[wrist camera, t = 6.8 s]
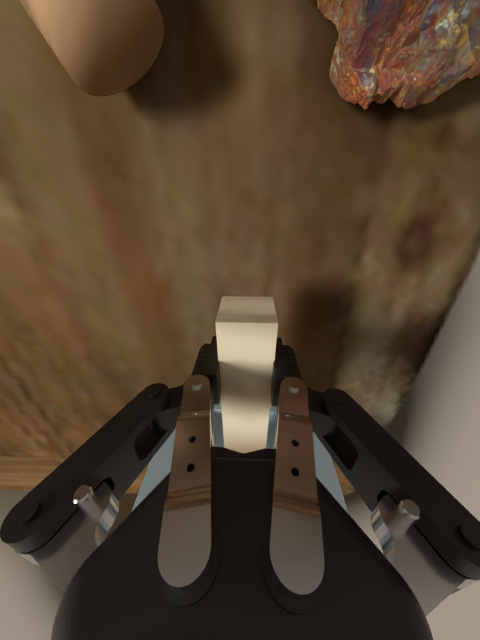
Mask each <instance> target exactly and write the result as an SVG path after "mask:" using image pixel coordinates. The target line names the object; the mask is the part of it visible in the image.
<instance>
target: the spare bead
mask: <svg viewBox="0 0 480 640" xmlns="http://www.w3.org/2000/svg"><path fill="white" fill-rule="evenodd" d="M19 1H20V2H21V4H22V5H23V7H24V8H25V10H26V11H27V13H28V14H29V16H30V17H31V19H32V20H33V22H34V23H35V25H36V26H37V28H38V29H39V31H40V32H41V34H42V35H43V37H44V38H45V40H46V41H47V42H48V44H49V45H50V47H51V48H52V50H53V51H54V53H55V54H56V56H57V57H58V59H59V60H60V62H61V63H62V65H63V66H64V68H65V69H66V71H67V72H68V74H69V75H70V77H71V78H72V80H73V81H74V83H75V84H76V85H77V86H78V87H79V88H80V89H81V90H82V91H84V92H85V93H88V94H90V95H94V96H109V95H113V94H116V93H119V92H121V91H124V90H125V89H127V88H129V87H131V86H132V85H134V84H135V83H136V82H137V81H139V80H140V79H141V78H142V77H143V76H144V75H145V74H146V73H147V71H148V70H149V69H150V68H151V66H152V65H153V63H154V62H155V60H156V58H157V56H158V54H159V52H160V49H161V46H162V43H163V38H164V21H163V17H162V14H161V12H160V10H159V8H158V6H157V3H156V1H155V0H19Z"/></svg>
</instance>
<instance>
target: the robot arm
mask: <svg viewBox="0 0 480 640" xmlns="http://www.w3.org/2000/svg"><path fill="white" fill-rule="evenodd" d="M220 395H221V379H220V365H219V361H218V351H217V336H213V338H212V342H211V344H204V345H203V346H202V347H201V348H200V350H199V354H198V357H197V360H196V363H195V366H194V369H193V373H192V376H191V377H189V378H188V379H187V380H186V381H185V383H184V385H182V386H179V387H175V388H171V389H168V387H167V386H166V385H165V384H162V383H156V384H152V385H150V386H148V387H146V388H145V389H144V390H143V391H142V392H141V393H139V394H138V395H137V396H136V397H135V398H134V399H133V400H132V401H131V402H129V403H128V404H127V405H126V406H125V407H124V408H123V409H122V410H121V411H119V412H118V413H117V414H116V415H115V416H114V417H113V418H112V419H111V420H109V421H108V422H107V423H106V424H105V425H104V426H103V427H102V428H101V429H99V430H98V431H97V432H96V433H95V434H94V435H93V436H92V437H91V438H89V439H88V440H87V441H86V442H85V443H84V444H83V445H82V446H81V447H79V448H78V449H77V450H76V451H75V452H74V453H73V454H72V455H71V456H69V457H68V458H67V459H66V460H65V461H64V462H63V463H62V464H61V465H59V466H58V467H57V468H56V469H55V470H54V471H53V472H52V473H51V474H49V475H48V476H47V477H46V478H45V479H44V480H43V481H42V482H41V483H39V484H38V485H37V486H36V487H35V488H34V489H33V490H32V491H31V492H29V493H28V494H27V495H26V496H25V497H24V498H23V499H22V500H21V501H20V502H18V504H16V505H15V506H14V507H13V508H12V510H11V511H10V512H9V513H8V515H7V516H6V518H5V520H4V522H3V524H2V526H1V530H0V537H1V539H2V541H3V542H5V543H6V544H8V545H9V546H11V547H12V548H14V550H15V552H16V553H18V554H19V555H21V556H22V557H24V558H26V559H27V560H29V561H30V562H32V563H34V564H37V565H40V566H41V568H42V569H43V570H44V571H45V572H46V573H47V575H48V576H49V577H50V578H51V579H52V580H53V582H54V583H55V584H56V585H57V586H58V587H59V589H60V590H61V591H62V592H63V593H64V595H63V597H62V600H61V602H60V605H59V608H58V611H57V613H56V616H55V620H54V624H53V629H52V636H51V640H433V637H432V633H431V630H430V627H429V624H428V622H427V619H426V616H427V614H429V613H430V612H431V611H432V610H433V609H434V608H435V607H437V606H438V605H439V604H440V603H441V602H442V601H443V600H444V599H445V598H446V597H447V596H449V595H450V594H452V593H454V592H456V591H458V590H461V589H463V588H465V587H467V586H469V585H471V584H472V583H475V582H477V581H479V580H480V522H479V521H478V520H477V519H476V518H475V517H474V516H473V515H472V514H471V513H470V512H469V511H468V510H467V509H466V508H465V507H464V506H463V505H461V504H460V503H459V502H458V501H457V500H456V499H455V498H454V497H453V496H452V495H451V494H450V493H449V492H448V491H447V490H446V489H445V488H444V487H443V486H442V485H441V484H440V483H439V482H438V481H437V480H436V479H435V478H434V477H433V476H431V474H430V473H429V472H428V471H427V470H426V469H424V467H422V466H421V465H420V464H419V463H418V462H417V461H416V460H415V459H414V458H413V457H412V456H411V455H410V454H409V453H408V452H407V451H406V450H405V449H404V448H403V447H402V446H401V445H400V444H399V443H398V442H397V441H396V440H395V439H394V438H393V437H391V435H389V434H388V433H387V432H386V431H385V430H384V429H383V428H382V427H381V426H380V425H379V424H378V423H377V422H376V421H375V420H374V419H373V418H372V417H371V416H370V415H369V414H368V413H367V412H366V411H365V410H364V409H363V408H362V407H361V406H360V405H359V404H358V403H357V402H356V401H355V400H354V399H352V398H351V397H350V396H349V395H348V394H347V393H346V392H344V391H342V390H340V389H335V388H332V389H328V390H326V391H325V392H324V393H321V392H318V391H314V390H312V389H310V388H308V387H307V385H306V384H305V383H304V382H303V381H302V379H301V376H300V372H299V369H298V365H297V362H296V357H295V354H294V350H293V349H292V348H291V347H290V346H289V345H282V340H281V338H277V340H276V351H275V361H274V362H273V371H272V381H271V400H272V406H277V419H276V431H275V443H274V449H269V448H265V449H261V450H256V451H252V452H248V453H240V452H237V451H233V450H230V449H227V448H224V447H215V446H214V428H213V411H214V405H219V402H220ZM175 428H176V432H175V440H174V448H173V456H172V464H171V471H170V472H169V473H168V475H167V476H166V477H165V478H164V479H163V480H162V481H161V482H160V483H159V484H158V485H157V486H156V487H155V488H154V489H153V490H152V491H151V492H150V493H149V494H148V495H147V496H146V497H145V498H144V500H143V501H142V502H141V503H140V504H139V505H138V506H137V507H136V508H135V509H134V510H133V511H132V512H131V513H130V514H129V515H128V516H127V517H126V518H125V519H124V520H123V521H122V522H121V523H120V524H119V526H118V527H117V528H116V529H115V530H114V531H113V532H112V533H111V534H110V535H109V536H108V537H107V538H106V536H107V533H108V531H109V528H110V527H111V526H112V524H113V522H114V520H115V518H116V516H117V513H118V510H119V503H118V501H119V499H120V498H121V497H122V495H123V494H124V493H125V492H126V491H127V489H128V488H129V487H130V485H131V484H132V483H133V482H134V480H135V479H136V478H137V477H138V475H139V474H140V473H141V472H142V470H143V469H144V468H145V467H146V465H147V464H148V463H149V462H150V460H151V459H152V458H153V457H154V455H155V454H156V453H157V452H158V450H159V449H160V448H161V446H162V445H163V444H164V443H165V441H166V440H167V439H168V438H169V436H170V435H171V434H172V433H173V431H174V430H175ZM313 432H314V433H315V434H316V436H317V438H318V439H319V440H320V442H321V443H322V444H323V446H324V447H325V449H326V450H327V451H328V453H329V454H330V455H331V457H332V458H333V460H334V461H335V462H336V464H337V465H338V466H339V468H340V469H341V471H342V472H343V473H344V475H345V476H346V478H347V479H348V480H349V482H350V483H351V484H352V486H353V487H354V489H355V490H356V491H357V493H358V494H359V495H360V497H361V498H362V500H363V501H364V502H365V504H366V505H367V506H368V508H369V509H370V511H371V512H372V514H371V525H372V528H373V531H374V533H375V535H376V537H377V538H378V540H379V542H380V544H381V547H382V550H383V554H384V555H383V554H382V552H381V551H380V550H379V549H378V548H377V547H376V546H375V544H374V543H373V542H372V541H371V540H370V539H369V537H368V536H367V535H366V534H365V533H364V532H363V530H362V529H361V528H360V527H359V526H358V525H357V523H356V522H355V521H354V520H353V519H352V518H351V516H350V515H349V514H348V513H347V512H346V511H345V510H344V508H343V507H342V506H341V505H340V504H339V503H338V501H337V500H336V499H335V498H334V497H333V496H332V494H331V493H330V492H329V491H328V490H327V489H326V487H325V486H324V485H323V484H322V483H321V482H320V481H319V479H318V478H317V477H316V470H315V456H314V442H313Z"/></svg>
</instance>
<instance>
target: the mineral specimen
mask: <svg viewBox="0 0 480 640" xmlns="http://www.w3.org/2000/svg"><path fill="white" fill-rule="evenodd" d="M317 2H318V5H317V8H318V10H320V11H321V13H322V14H323V16H324V18H326V19H328V20H331V21H332V22H333V24H334V25H336V28H337V31H338V33H339V36H338V41H337V44H336V46H335V50H334V53H333V58H332V60H331V62H332V63H331V67H330V71H329V77H330V79H331V82H332V84H333V85H334V86H335V87H336V89H337V92H338V94H339V95H340V96H341V97H342V98H343V99H345V101H347V102H350V103H352V104H357V103H358V104H359V105H361V106H362V108H363V109H368V107H369V105H370V104H371V103H372V101H376V103H377V104H378V103H379V104H383V103H384V102H385V101H386V100H387V99H388V98H389V99H391V100H392V101H393V103H395V105H396V106H397V107H403V109H410V108H414V107H416V106H417V105H418V104H427V103H430V102H432V101H433V100H435V99H436V98H437V97H438V96H439V95H440V94H441V93H443V92H445V91H446V90H448V89H450V88H452V87H453V86H454V85H456V84H457V83H459V82H461V81H462V80H464V79H466V78H468V77H469V78H470V79H472V78H474V77H475V76H478V75H479V74H480V0H317Z"/></svg>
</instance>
